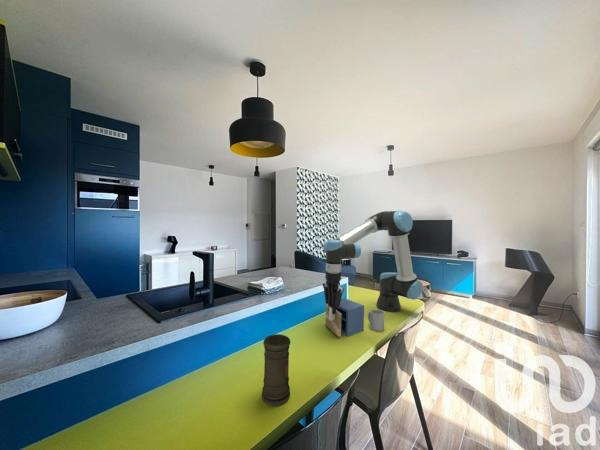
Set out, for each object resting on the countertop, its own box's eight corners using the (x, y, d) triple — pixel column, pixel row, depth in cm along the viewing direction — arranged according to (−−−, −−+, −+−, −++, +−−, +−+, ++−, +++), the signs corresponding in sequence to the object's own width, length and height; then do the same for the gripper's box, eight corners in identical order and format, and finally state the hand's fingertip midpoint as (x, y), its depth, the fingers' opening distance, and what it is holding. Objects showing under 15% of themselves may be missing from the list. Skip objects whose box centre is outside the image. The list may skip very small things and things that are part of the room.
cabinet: (343, 321, 136) (344, 298, 136) (363, 330, 125) (364, 305, 125) (328, 326, 129) (328, 301, 129) (347, 336, 118) (348, 310, 118)
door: (327, 323, 130) (327, 303, 129) (340, 336, 116) (341, 313, 115) (324, 324, 129) (325, 303, 129) (338, 336, 115) (339, 314, 115)
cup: (376, 332, 123) (377, 315, 123) (363, 325, 132) (363, 308, 131) (387, 330, 126) (387, 313, 126) (373, 322, 135) (373, 306, 135)
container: (266, 410, 71) (267, 349, 71) (258, 390, 79) (259, 336, 79) (294, 401, 75) (295, 344, 74) (284, 383, 83) (285, 331, 83)
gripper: (318, 270, 121) (317, 316, 121) (337, 275, 110) (335, 326, 111) (329, 268, 125) (328, 313, 126) (348, 273, 115) (347, 322, 115)
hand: (332, 319), depth 118 cm, fingers closed
